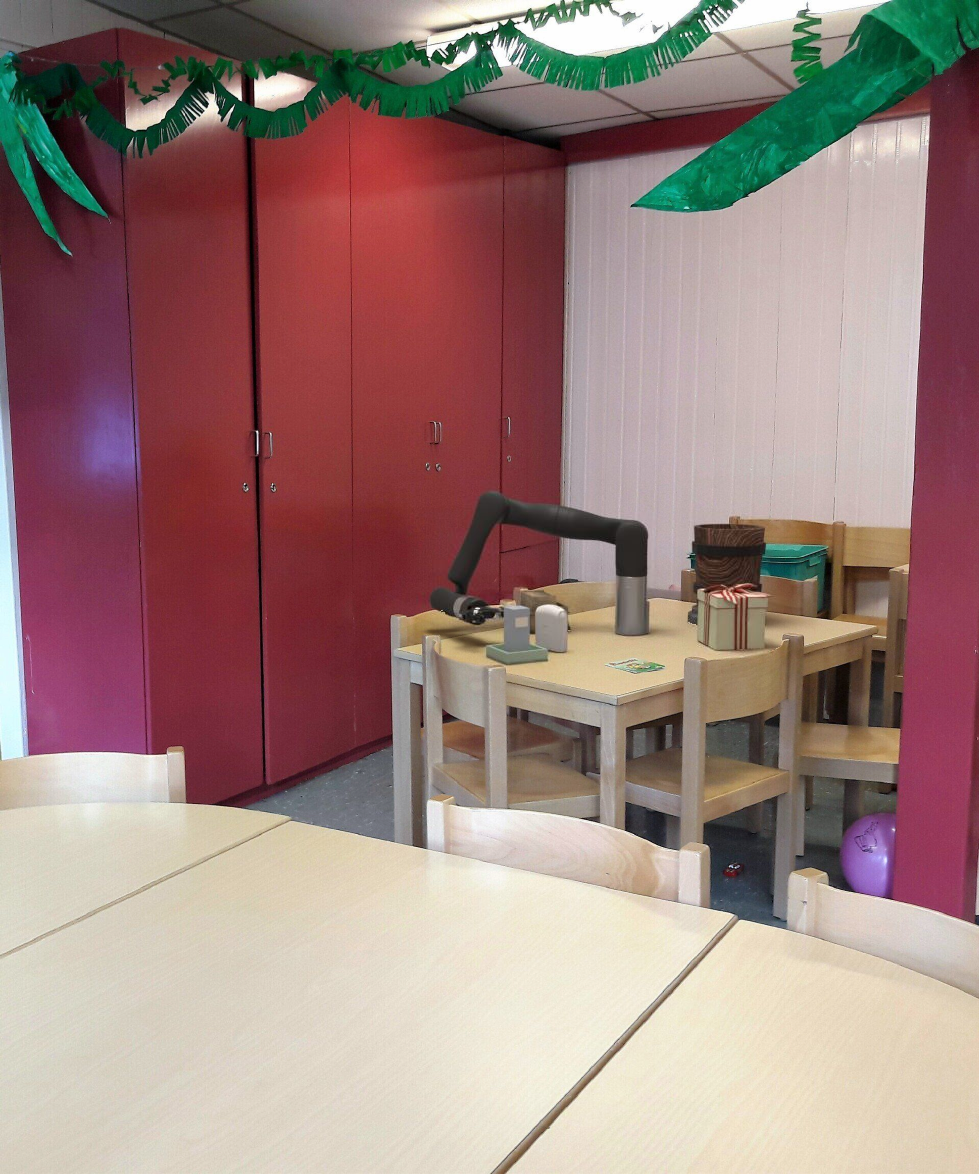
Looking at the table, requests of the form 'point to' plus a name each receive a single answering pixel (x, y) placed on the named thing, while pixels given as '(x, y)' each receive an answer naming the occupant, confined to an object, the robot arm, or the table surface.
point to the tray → (516, 654)
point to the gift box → (732, 617)
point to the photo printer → (551, 628)
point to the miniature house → (539, 604)
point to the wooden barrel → (726, 557)
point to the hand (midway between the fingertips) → (497, 618)
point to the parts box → (516, 629)
